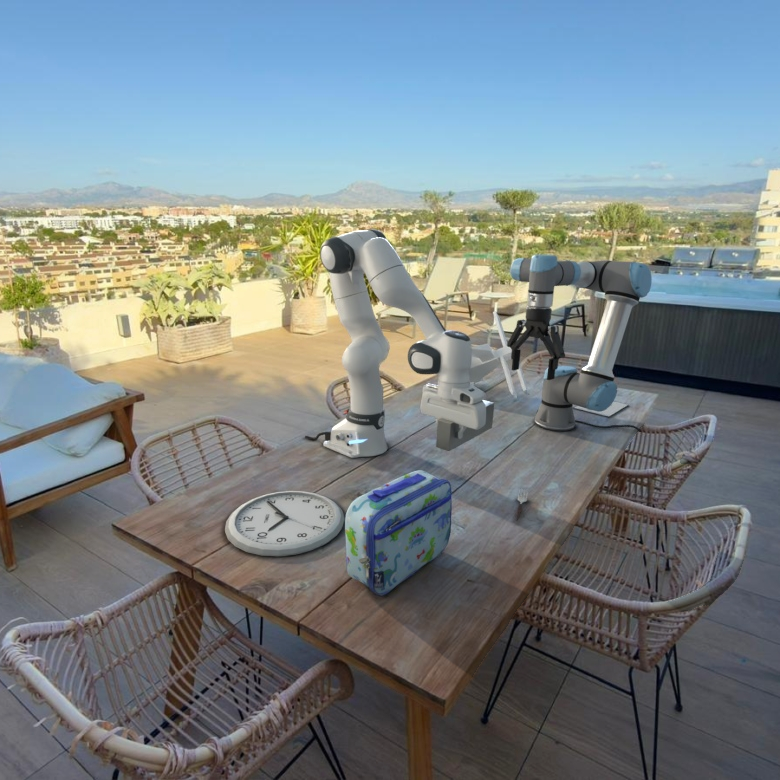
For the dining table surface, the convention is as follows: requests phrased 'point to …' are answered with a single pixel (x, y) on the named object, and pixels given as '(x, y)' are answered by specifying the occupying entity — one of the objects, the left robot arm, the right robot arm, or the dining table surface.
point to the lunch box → (397, 529)
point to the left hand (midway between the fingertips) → (450, 435)
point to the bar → (449, 428)
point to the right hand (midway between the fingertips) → (532, 374)
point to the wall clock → (284, 523)
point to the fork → (521, 499)
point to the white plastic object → (494, 361)
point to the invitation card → (609, 411)
